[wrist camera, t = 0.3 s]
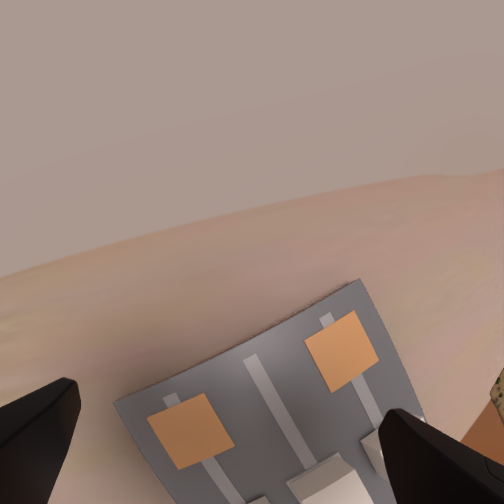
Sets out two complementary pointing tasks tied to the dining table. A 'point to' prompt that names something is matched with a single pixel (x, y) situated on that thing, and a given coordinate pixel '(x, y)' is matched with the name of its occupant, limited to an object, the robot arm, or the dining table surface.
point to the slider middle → (332, 485)
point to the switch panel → (275, 407)
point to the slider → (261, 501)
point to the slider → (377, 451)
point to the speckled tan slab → (499, 395)
